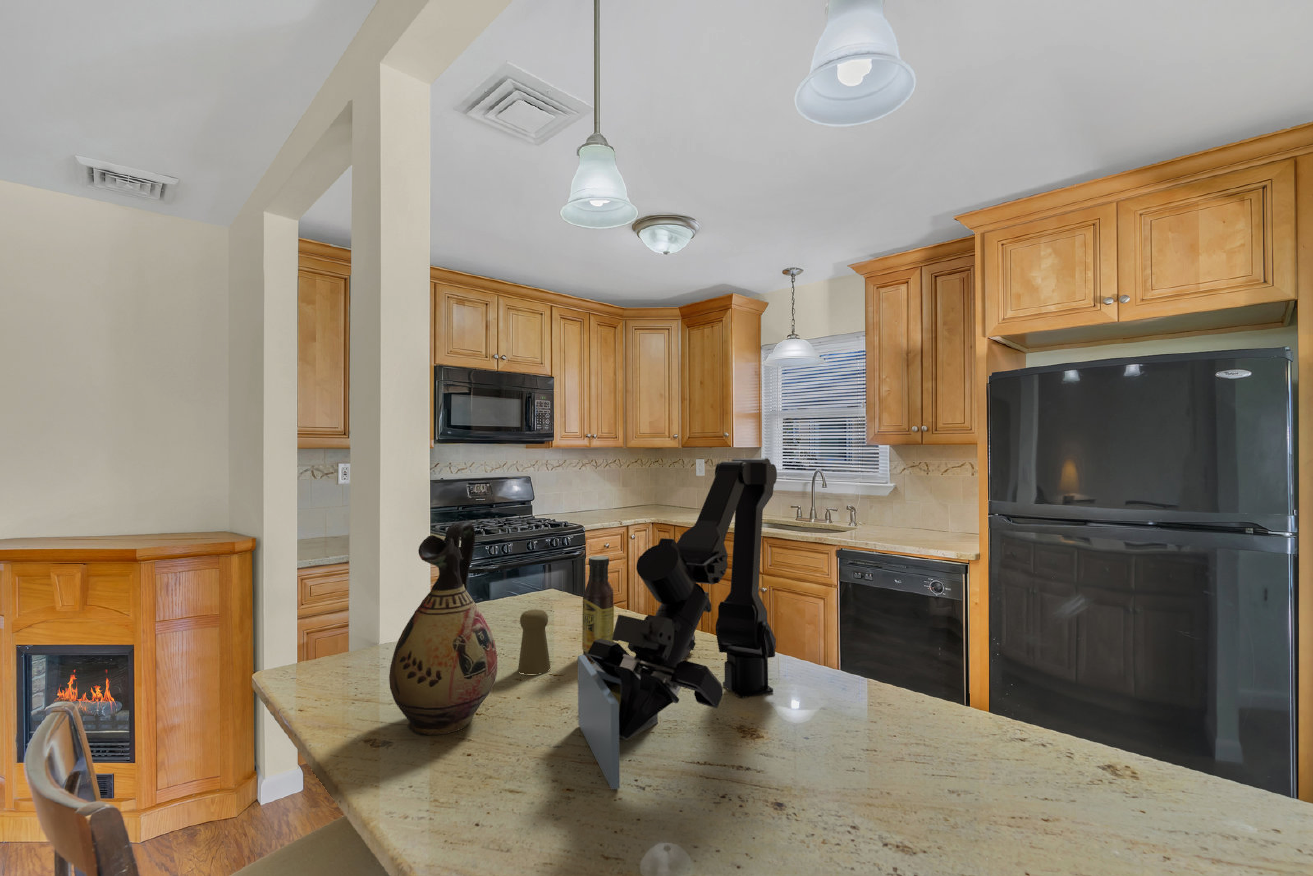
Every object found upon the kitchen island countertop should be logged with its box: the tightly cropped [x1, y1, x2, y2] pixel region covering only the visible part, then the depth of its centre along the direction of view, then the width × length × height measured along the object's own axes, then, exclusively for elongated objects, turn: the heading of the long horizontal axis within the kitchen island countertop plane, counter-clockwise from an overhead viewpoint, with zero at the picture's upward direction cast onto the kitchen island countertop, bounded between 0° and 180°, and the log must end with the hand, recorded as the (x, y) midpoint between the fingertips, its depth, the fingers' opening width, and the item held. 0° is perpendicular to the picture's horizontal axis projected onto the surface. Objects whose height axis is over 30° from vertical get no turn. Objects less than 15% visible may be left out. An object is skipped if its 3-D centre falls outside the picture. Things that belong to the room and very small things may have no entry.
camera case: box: [591, 662, 659, 741], centre depth 91 cm, size 7×8×8 cm
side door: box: [577, 654, 621, 790], centre depth 82 cm, size 1×19×10 cm, turn 19°
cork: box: [517, 608, 551, 675], centre depth 115 cm, size 6×6×11 cm
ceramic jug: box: [388, 520, 498, 737], centre depth 94 cm, size 17×15×30 cm
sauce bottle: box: [581, 555, 615, 662], centre depth 122 cm, size 7×6×20 cm
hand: (621, 736), depth 74 cm, fingers closed
